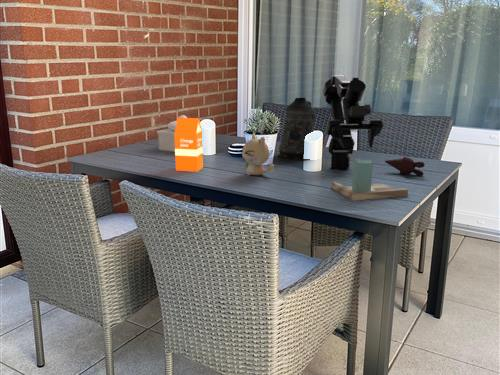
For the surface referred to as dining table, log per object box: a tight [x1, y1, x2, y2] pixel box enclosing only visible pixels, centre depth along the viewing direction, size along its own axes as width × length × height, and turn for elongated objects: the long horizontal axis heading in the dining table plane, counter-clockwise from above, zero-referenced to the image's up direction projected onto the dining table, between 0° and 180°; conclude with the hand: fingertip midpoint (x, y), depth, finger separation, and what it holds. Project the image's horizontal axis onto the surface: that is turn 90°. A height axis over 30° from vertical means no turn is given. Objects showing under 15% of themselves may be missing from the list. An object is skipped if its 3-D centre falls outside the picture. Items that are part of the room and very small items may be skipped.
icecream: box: [384, 156, 426, 177], centre depth 188 cm, size 7×7×15 cm
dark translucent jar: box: [278, 97, 316, 161], centre depth 217 cm, size 16×19×25 cm
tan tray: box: [331, 181, 409, 201], centre depth 164 cm, size 15×20×2 cm
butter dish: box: [156, 114, 188, 153], centre depth 232 cm, size 18×18×16 cm
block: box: [351, 158, 374, 193], centre depth 164 cm, size 5×5×10 cm
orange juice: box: [174, 117, 204, 173], centre depth 193 cm, size 8×9×20 cm
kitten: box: [241, 132, 275, 176], centre depth 186 cm, size 15×10×15 cm
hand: (357, 147), depth 169 cm, fingers open, 9 cm apart
